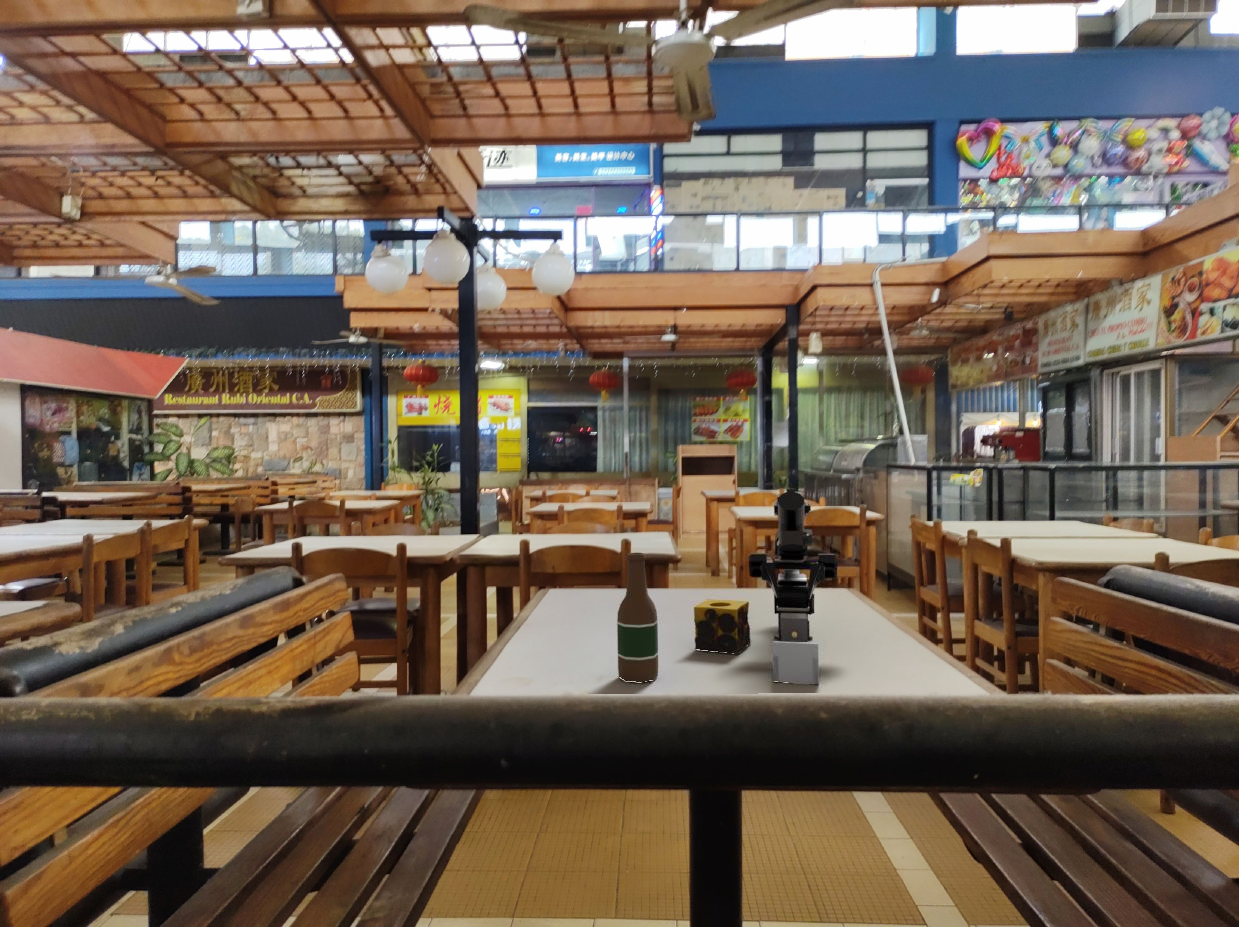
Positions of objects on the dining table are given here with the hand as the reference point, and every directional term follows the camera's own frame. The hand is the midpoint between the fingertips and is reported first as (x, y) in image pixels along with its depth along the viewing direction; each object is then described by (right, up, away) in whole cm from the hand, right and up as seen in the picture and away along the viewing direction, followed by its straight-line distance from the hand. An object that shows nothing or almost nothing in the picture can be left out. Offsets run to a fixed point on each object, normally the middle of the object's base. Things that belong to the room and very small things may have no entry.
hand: (793, 597), depth 151 cm
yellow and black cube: (-14, -13, +9) cm, 21 cm away
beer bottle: (-33, -13, -13) cm, 38 cm away
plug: (-1, -12, -6) cm, 14 cm away
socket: (-3, -12, -13) cm, 18 cm away
